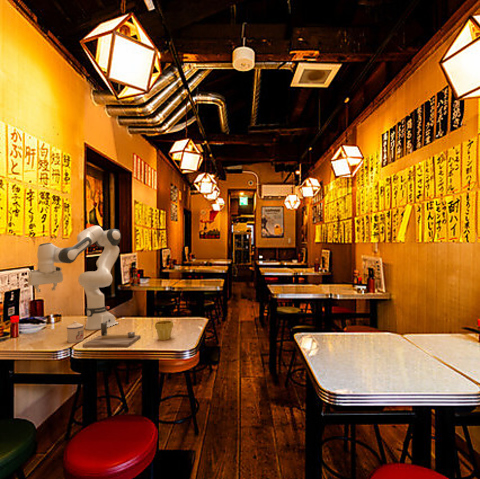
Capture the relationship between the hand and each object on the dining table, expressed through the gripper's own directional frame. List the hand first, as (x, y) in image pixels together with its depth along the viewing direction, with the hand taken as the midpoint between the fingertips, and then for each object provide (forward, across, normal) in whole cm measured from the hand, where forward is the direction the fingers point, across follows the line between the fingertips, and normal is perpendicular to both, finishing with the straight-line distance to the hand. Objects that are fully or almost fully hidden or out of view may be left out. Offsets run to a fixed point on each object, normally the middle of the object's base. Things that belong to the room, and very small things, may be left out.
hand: (46, 291), depth 206 cm
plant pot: (+29, +28, -70) cm, 81 cm away
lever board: (+29, +10, -46) cm, 56 cm away
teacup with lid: (+30, +5, -22) cm, 37 cm away
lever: (+27, +14, -46) cm, 55 cm away
